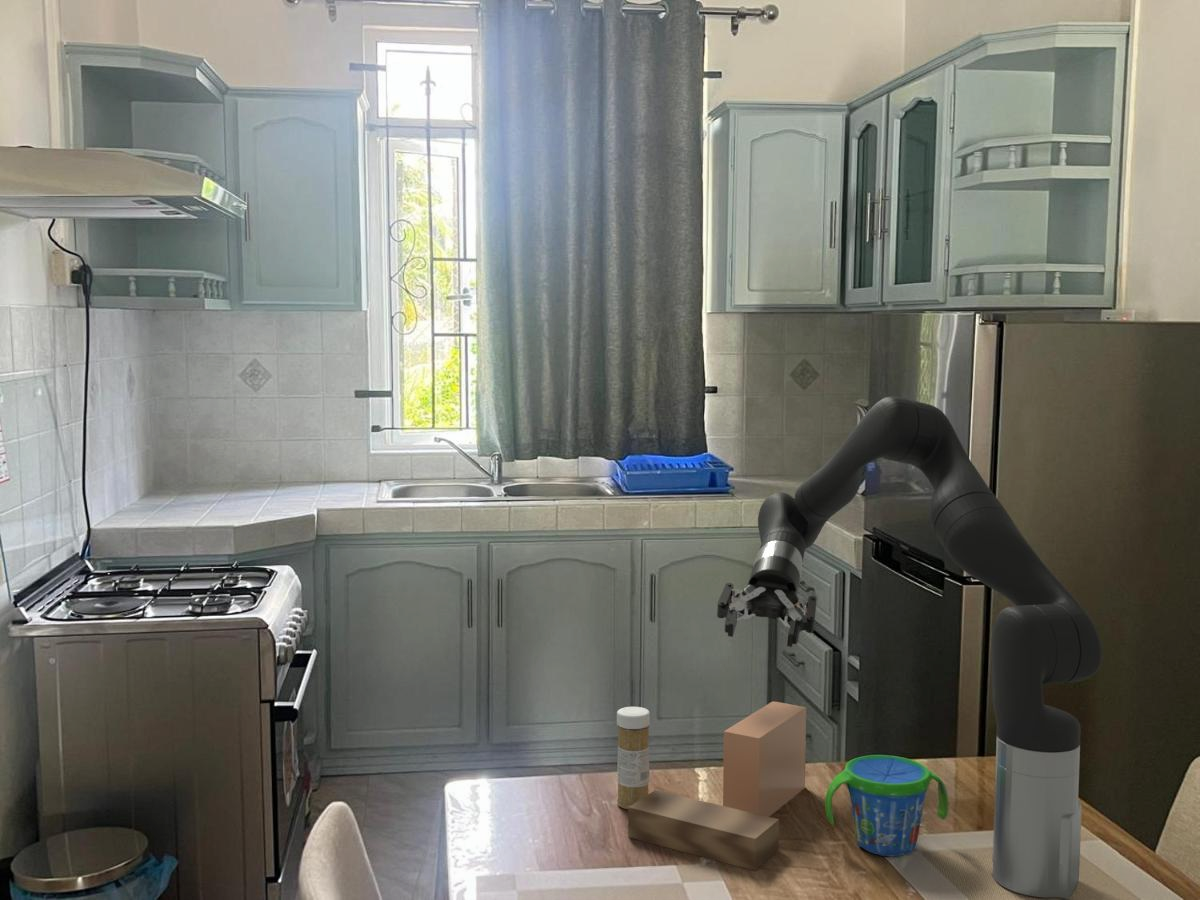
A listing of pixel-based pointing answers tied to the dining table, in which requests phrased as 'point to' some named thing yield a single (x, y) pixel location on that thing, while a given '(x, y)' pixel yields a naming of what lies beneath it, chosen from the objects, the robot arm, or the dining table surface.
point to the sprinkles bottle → (633, 755)
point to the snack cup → (886, 801)
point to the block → (765, 759)
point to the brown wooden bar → (704, 829)
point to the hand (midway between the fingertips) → (760, 636)
